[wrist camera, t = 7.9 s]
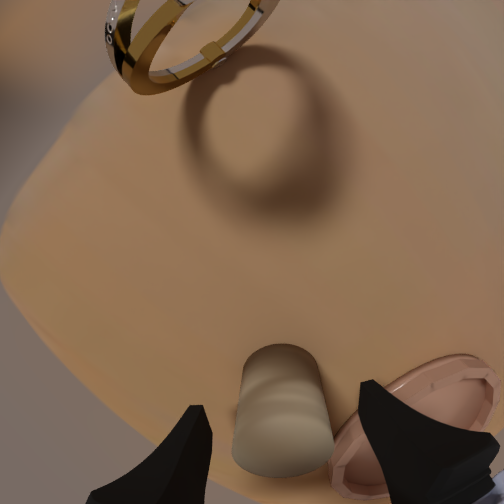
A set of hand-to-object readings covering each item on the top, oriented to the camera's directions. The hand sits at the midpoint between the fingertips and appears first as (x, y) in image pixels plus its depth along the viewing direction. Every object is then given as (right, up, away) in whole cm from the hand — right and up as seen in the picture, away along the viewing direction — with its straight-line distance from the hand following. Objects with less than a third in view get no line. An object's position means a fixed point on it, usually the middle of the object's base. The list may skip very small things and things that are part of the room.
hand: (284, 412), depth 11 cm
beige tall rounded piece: (0, +1, +3) cm, 3 cm away
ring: (-3, +16, 0) cm, 16 cm away
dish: (+11, -7, +5) cm, 14 cm away
